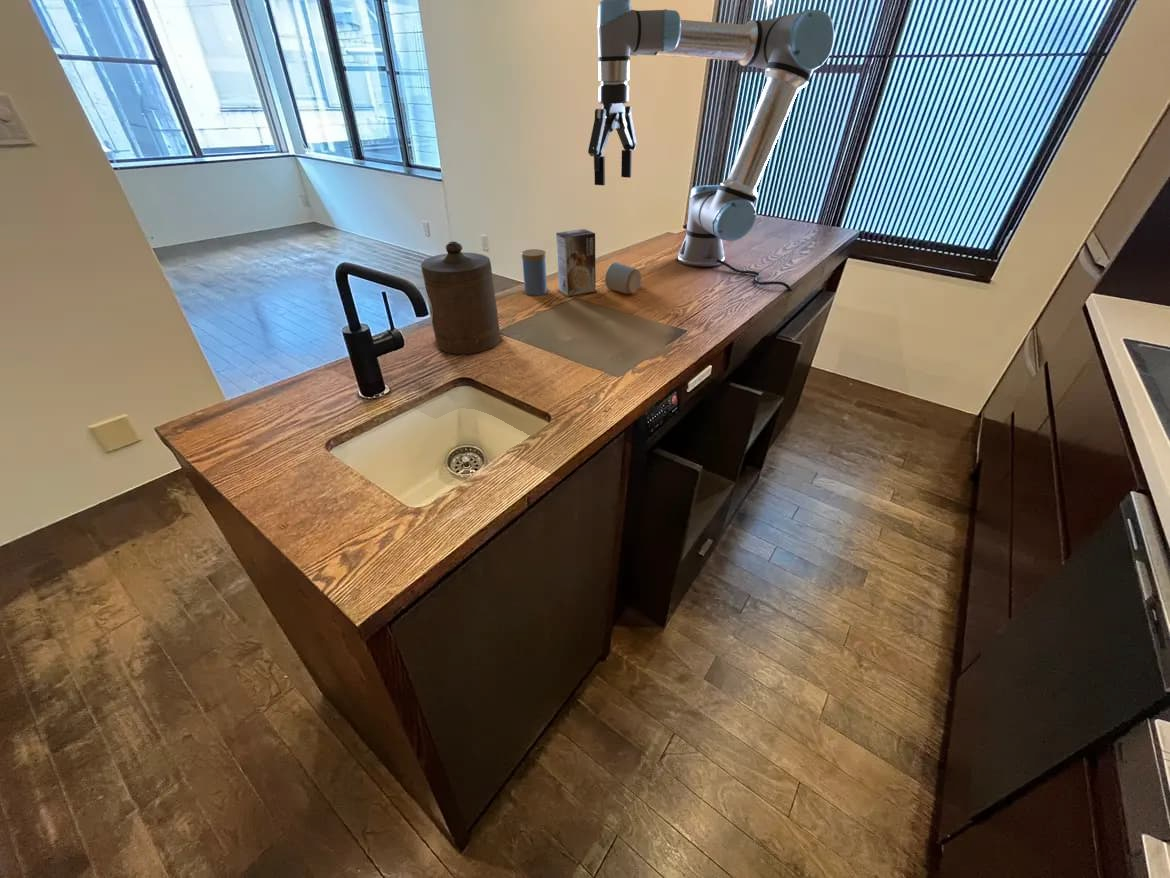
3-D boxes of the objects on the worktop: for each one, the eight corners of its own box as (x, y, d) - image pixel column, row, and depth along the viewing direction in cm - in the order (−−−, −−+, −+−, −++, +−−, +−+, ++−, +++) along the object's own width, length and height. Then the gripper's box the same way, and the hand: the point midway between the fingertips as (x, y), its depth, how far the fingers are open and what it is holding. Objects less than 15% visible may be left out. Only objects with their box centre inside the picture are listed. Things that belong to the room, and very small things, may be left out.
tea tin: (552, 290, 141) (550, 251, 134) (537, 297, 136) (534, 257, 130) (534, 286, 144) (531, 247, 137) (519, 292, 139) (516, 253, 133)
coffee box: (585, 285, 144) (585, 228, 135) (596, 291, 140) (596, 233, 130) (558, 290, 141) (555, 232, 131) (567, 297, 136) (565, 237, 127)
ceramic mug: (627, 298, 135) (629, 270, 130) (604, 292, 139) (605, 264, 135) (647, 288, 142) (650, 261, 137) (624, 283, 146) (626, 256, 141)
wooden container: (458, 324, 121) (442, 231, 108) (511, 332, 117) (501, 236, 104) (423, 349, 109) (400, 248, 96) (480, 358, 105) (465, 255, 92)
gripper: (626, 83, 128) (624, 173, 140) (571, 85, 111) (575, 187, 124) (651, 82, 124) (647, 175, 137) (598, 84, 108) (600, 189, 120)
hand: (613, 181), depth 130 cm, fingers open, 13 cm apart
